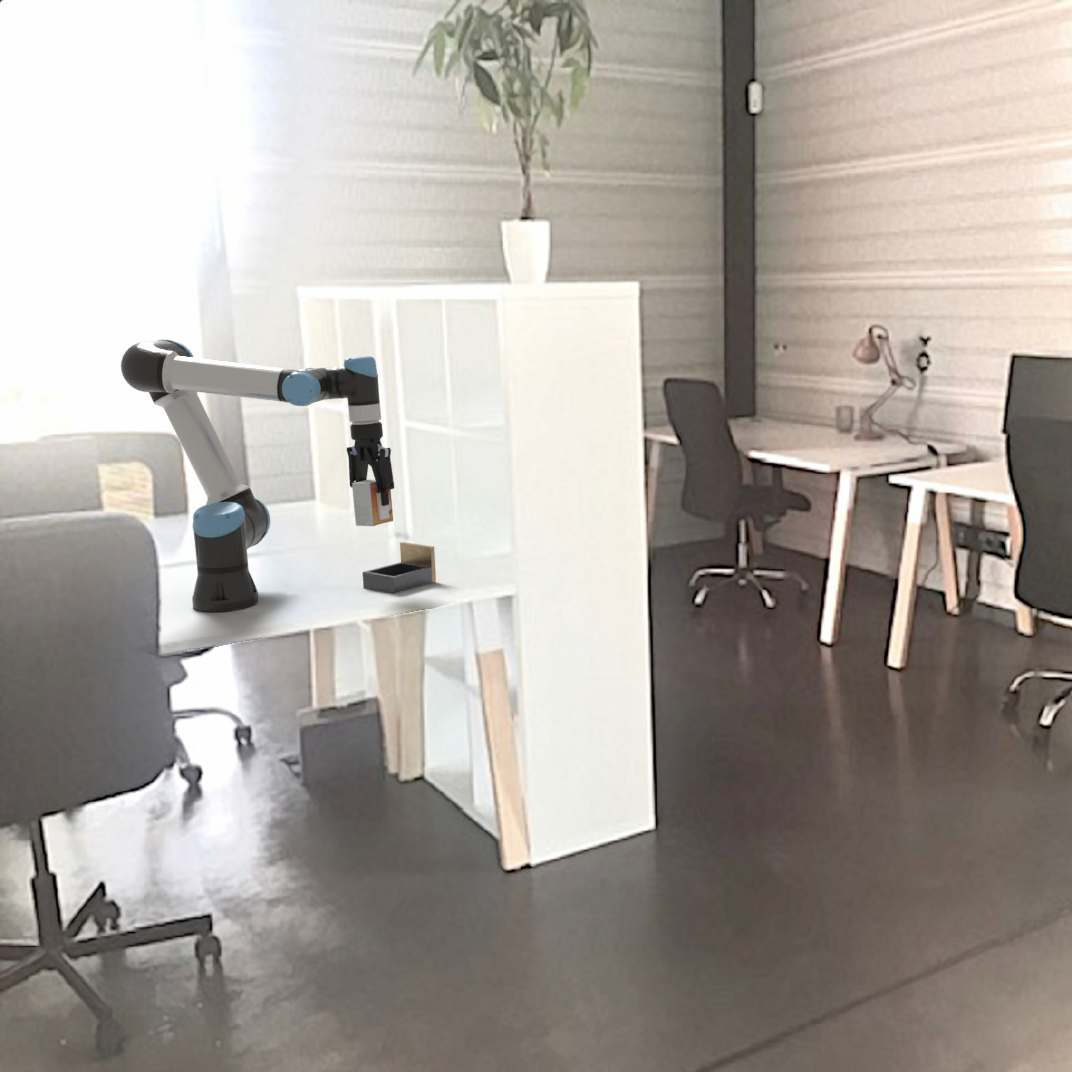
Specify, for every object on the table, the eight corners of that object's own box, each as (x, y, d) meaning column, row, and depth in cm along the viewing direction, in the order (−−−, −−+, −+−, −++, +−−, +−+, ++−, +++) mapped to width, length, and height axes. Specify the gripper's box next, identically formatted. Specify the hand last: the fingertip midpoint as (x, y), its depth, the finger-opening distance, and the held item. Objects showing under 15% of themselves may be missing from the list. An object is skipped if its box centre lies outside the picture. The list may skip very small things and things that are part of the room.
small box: (373, 527, 281) (369, 483, 279) (355, 526, 284) (351, 482, 282) (394, 520, 287) (390, 478, 285) (376, 519, 290) (372, 477, 288)
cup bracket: (363, 587, 291) (361, 552, 289) (405, 576, 302) (403, 542, 300) (394, 593, 284) (392, 557, 282) (436, 582, 295) (434, 546, 293)
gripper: (404, 421, 277) (413, 517, 282) (352, 419, 290) (361, 512, 294) (380, 424, 272) (389, 523, 276) (328, 423, 284) (337, 517, 289)
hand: (374, 517), depth 285 cm, fingers closed on small box, 6 cm apart
